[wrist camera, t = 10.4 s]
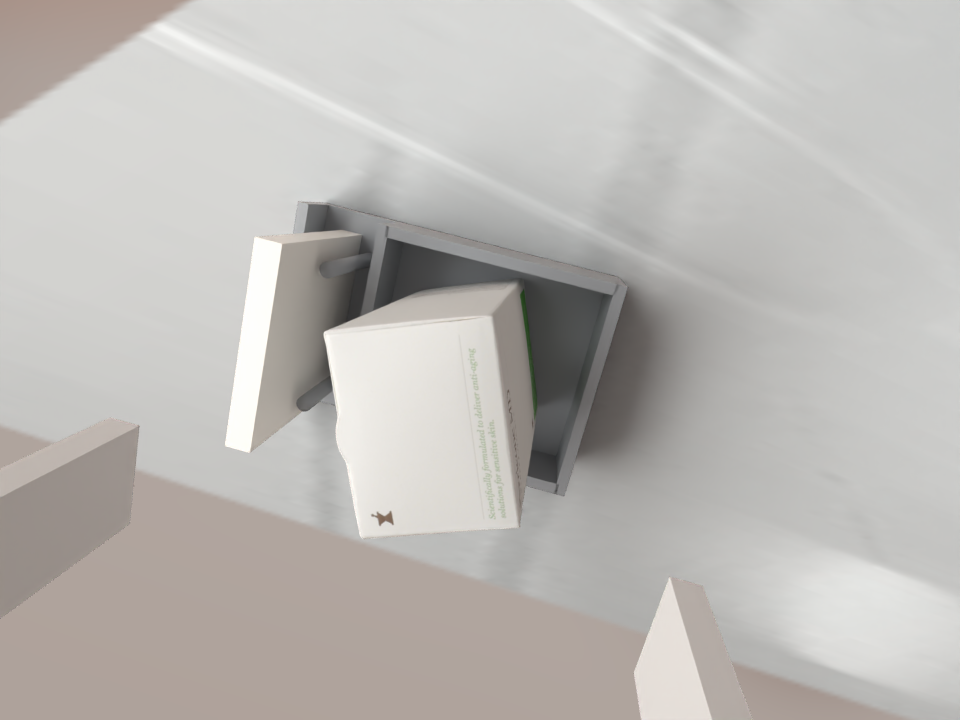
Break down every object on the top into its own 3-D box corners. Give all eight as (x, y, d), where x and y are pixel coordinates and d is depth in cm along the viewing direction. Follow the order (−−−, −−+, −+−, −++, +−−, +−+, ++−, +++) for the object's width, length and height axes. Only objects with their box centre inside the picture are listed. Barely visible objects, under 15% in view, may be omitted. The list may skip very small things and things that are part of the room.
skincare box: (539, 408, 37) (529, 541, 22) (433, 417, 38) (354, 550, 23) (524, 270, 35) (502, 312, 20) (412, 283, 36) (313, 333, 21)
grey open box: (617, 277, 36) (648, 307, 24) (562, 461, 39) (566, 566, 27) (324, 202, 37) (219, 197, 25) (293, 388, 40) (186, 459, 28)
